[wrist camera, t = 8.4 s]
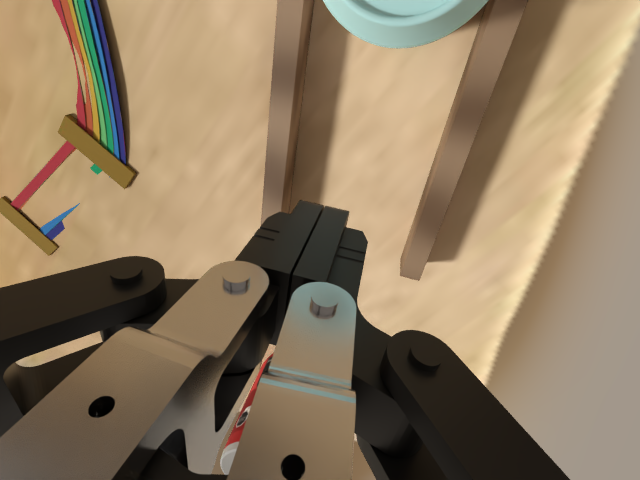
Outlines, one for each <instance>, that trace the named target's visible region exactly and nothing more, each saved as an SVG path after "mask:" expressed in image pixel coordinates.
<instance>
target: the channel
mask: <svg viewBox="0 0 640 480" xmlns="http://www.w3.org/2000/svg"><path fill="white" fill-rule="evenodd" d="M527 2H528V0H489V1H488V2H487V4H486V7H485V10H484V13H483V16H482V19H481V22H480V25H479V28H478V31H477V34H476V37H475V40H474V43H473V46H472V49H471V52H470V55H469V58H468V61H467V64H466V67H465V70H464V72H463V75H462V78H461V81H460V84H459V87H458V90H457V93H456V96H455V99H454V102H453V105H452V108H451V111H450V114H449V117H448V120H447V123H446V126H445V129H444V132H443V135H442V138H441V141H440V144H439V147H438V150H437V153H436V155H435V158H434V161H433V164H432V167H431V170H430V173H429V176H428V179H427V182H426V185H425V188H424V191H423V194H422V197H421V200H420V203H419V206H418V209H417V212H416V215H415V218H414V221H413V224H412V227H411V230H410V233H409V236H408V239H407V241H406V244H405V247H404V250H403V253H402V256H401V264H400V276H403V277H407V278H410V279H414V280H418V281H419V280H420V278H421V275H422V273H423V270H424V267H425V265H426V262H427V260H428V257H429V255H430V252H431V249H432V247H433V244H434V242H435V239H436V236H437V234H438V231H439V229H440V226H441V224H442V221H443V218H444V216H445V213H446V211H447V208H448V206H449V203H450V200H451V198H452V195H453V193H454V190H455V187H456V185H457V182H458V180H459V177H460V175H461V172H462V169H463V167H464V164H465V162H466V159H467V156H468V154H469V151H470V149H471V146H472V144H473V141H474V138H475V136H476V133H477V131H478V128H479V126H480V123H481V120H482V118H483V115H484V113H485V110H486V107H487V105H488V102H489V100H490V97H491V95H492V92H493V89H494V87H495V84H496V82H497V79H498V76H499V74H500V71H501V69H502V66H503V64H504V61H505V58H506V56H507V53H508V51H509V48H510V46H511V43H512V40H513V38H514V35H515V33H516V30H517V27H518V25H519V22H520V20H521V17H522V15H523V12H524V9H525V7H526V4H527ZM313 6H314V0H278V2H277V16H276V29H275V42H274V56H273V69H272V83H271V96H270V110H269V123H268V137H267V150H266V163H265V177H264V190H263V204H262V217H261V225H262V224H263V223H264V221H265V220H266V219H267V218H268V217H270V216H272V215H274V214H276V213H278V212H284V213H288V214H289V206H290V198H291V189H292V181H293V173H294V165H295V156H296V148H297V140H298V131H299V123H300V115H301V106H302V98H303V90H304V81H305V73H306V65H307V56H308V48H309V40H310V31H311V23H312V15H313Z"/></svg>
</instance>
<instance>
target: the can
mask: <svg viewBox="0 0 640 480" xmlns="http://www.w3.org/2000/svg"><path fill="white" fill-rule="evenodd" d="M488 1H489V0H323V2H324V3H325V5H326V7H327V8H328V10H329V11H330V12H331V14H332V15H333V16H334V17H335V19H336V20H337V21H338V22H339V23H340V24H341V25H342V26H343V27H344V28H345V29H347V30H348V31H349V32H351V33H352V34H353V35H355V36H357V37H358V38H360V39H362V40H364V41H366V42H369V43H371V44H374V45H378V46H382V47H387V48H410V47H417V46H421V45H425V44H428V43H431V42H434V41H436V40H438V39H441V38H443V37H445V36H447V35H448V34H450V33H452V32H453V31H455V30H457V29H458V28H459V27H461V26H462V25H464V24H465V23H466V22H467V21H469V20H470V19H471V18H472V17H473V16H474V15H475V14H476V13H477V12H478V11H479V10H480V9H481V8H482V7H483V6H484V5H485V4H486V3H487V2H488Z"/></svg>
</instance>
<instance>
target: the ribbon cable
mask: <svg viewBox="0 0 640 480" xmlns="http://www.w3.org/2000/svg"><path fill="white" fill-rule="evenodd" d="M52 2H53V5H54V7H55V9H56V11H57V13H58V15H59V17H60V20H61V23H62V25H63V28H64V30H65V32H66V34H67V37H68V40H69V43H70V46H71V49H72V52H73V55H74V60H75V64H76V70H77V78H78V94H77V104H76V108H77V120H76V119H75V118H73V117H72V116H71V115H70V114H68V115H65V117H64V119H63V121H62V124H61V126H60V128H59V131H58V133H59V134H60V135H61V136H63V137H64V138H65V139H66V140H67V141H66V142H65V144H64V145H63V146H62V147H61V148H60V149H59V151H58V152H57V153H56V154H55V155H54V156H53V157H52V158H51V160H50V161H49V162H48V163H47V164H46V165H45V166H44V168H43V169H42V170H41V171H40V172H39V173H38V174H37V175H36V176H35V177H34V179H33V180H32V181H31V182H30V183H29V184H28V185H27V186H26V187H25V189H24V190H23V191H22V192H21V193H20V194H19V195H18V196H17V197H16V198H15V199H14V201H13V202H12V203H11V202H10V201H9V200H8V199H7V198H6V197H5V196H4V197H1V199H0V213H1V214H3V215H4V216H5V217H6V218H7V219H8V220H9V221H10V222H11V223H13V224H14V225H15V226H16V227H17V228H18V229H19V230H20V231H22V232H23V233H24V234H25V235H26V236H27V237H28V238H29V239H31V240H32V241H33V242H34V243H35V244H36V245H37V246H38V247H40V248H41V249H42V250H43V251H44V252H45V253H46V254H47V255H48V256H49V255H51V254H52V253H53V252H54V251H55V250H56V249H57V248H58V246H57V245H56V244H55V243H54V242H53V241H51V240H52V239H54V238H55V237H56V236H57V235H58V234H59V233H60V232H61V231H63V230H64V229H65V228H64V225H63V223H62V220H63V219H64V218H65V217H66V216H67V215H68V214H69V213H70V212H71V211H73V210H74V209H75V208H76V207H77V206H78V205H79V204H80V203H79V204H78V205H76V206H75V207H73V208H71V209H70V210H68V211H66V212H64V213H62V214H61V215H59V216H58V217H56V218H55V219H53V220H52V221H50V222H49V223H47V224H45V225H44V226H42V227H41V228H40V229H39V230H38V229H37V228H36V227H35V226H34V225H33V224H32V223H30V222H29V221H28V220H27V219H26V218H25V217H24V216H23V215H21V214H20V213H19V211H20V210H21V208H22V207H23V206H24V205H25V204H26V202H27V201H28V200H29V199H30V198H31V196H32V195H33V194H34V193H35V191H36V190H37V189H38V188H39V187H40V186H41V185H42V184H43V183H44V182H45V181H46V180H47V179H48V177H49V176H50V175H51V174H52V173H53V172H54V171H55V170H56V169H57V168H58V167H59V166H60V164H61V163H62V162H63V161H64V160H65V159H66V158H67V157H68V156H69V155H70V154H71V153H72V152H74V151H75V150H76V149H78V150H79V151H80V152H81V153H83V154H84V155H85V156H86V157H87V158H89V159H90V160H91V161H92V162H93V163H94V165H93V166H92V167H91V170H92V171H94V172H95V173H96V174H97V175H98V174H99V173H100V172H101V171H102V170H103V171H104V172H105V173H106V174H107V175H109V178H110V177H111V178H112V179H113V180H114V181H116V182H117V183H118V184H119V185H120V186H122V187H123V188H124V189H125V188H127V187H128V185H129V184H130V182H131V181H132V179H133V178H134V176H135V175H136V172H135V171H134V170H132V169H131V168H130V167H129V166H126V150H125V140H124V131H123V124H122V117H121V110H120V104H119V98H118V92H117V87H116V82H115V76H114V71H113V67H112V62H111V57H110V52H109V48H108V43H107V39H106V34H105V30H104V25H103V21H102V16H101V12H100V8H99V4H98V0H52ZM92 36H93V37H92ZM70 38H71V39H70ZM71 40H72V42H73V44H74V46H75V48H76V50H77V52H78V54H79V58H80V60H81V63H82V67H83V71H84V75H85V79H86V83H85V88H86V104H84V102H83V95H82V89H81V83H80V78H79V72H78V68H77V63H76V59H75V54H74V50H73V46H72V42H71ZM93 40H94V41H93ZM94 44H95V45H94ZM95 48H96V50H95ZM96 53H97V54H96ZM97 57H98V58H97ZM83 60H84V62H85V65H86V68H87V72H88V76H89V82H90V90H91V97H92V109H91V102H90V96H89V90H88V84H87V78H86V73H85V67H84V62H83ZM98 61H99V63H98ZM99 66H100V67H99ZM100 70H101V71H100ZM109 87H110V88H109ZM92 115H93V117H92Z"/></svg>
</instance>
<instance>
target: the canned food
mask: <svg viewBox="0 0 640 480" xmlns="http://www.w3.org/2000/svg"><path fill="white" fill-rule="evenodd" d="M273 354H274V353H273ZM273 354H272V355H271V356H269V357H268V358H267V359H266V361H265V362H264V363H263V365H262V367H261V369H260V371H259V373H258V375H257V377H256V380H255V382H254V384H253V386H252V388H251V391H250V393H249V395H248V397H247V399H246V402H245V404H244V406H243V408H242V410H241V413H240V415H239V417H238V419H237V421H236V423H235V426H234V428H233V430H232V432H231V434H230V437H229V439H228V442H227V444H226V446H225V448H224V450H223V454H222V457H221V460H220V465H221V468H222V471H223V472H224V474H225V475H228V474H229V471H230V468H231V465H232V462H233V459H234V456H235V453H236V450H237V447H238V444H239V441H240V438H241V435H242V432H243V429H244V426H245V423H246V420H247V417H248V414H249V411H250V408H251V405H252V402H253V399H254V396H255V393H256V390H257V387H258V384H259V381H260V379H261V376H262V374H263V372H264V371H268V369H269V366H270V363H271V360H272V357H273Z"/></svg>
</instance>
